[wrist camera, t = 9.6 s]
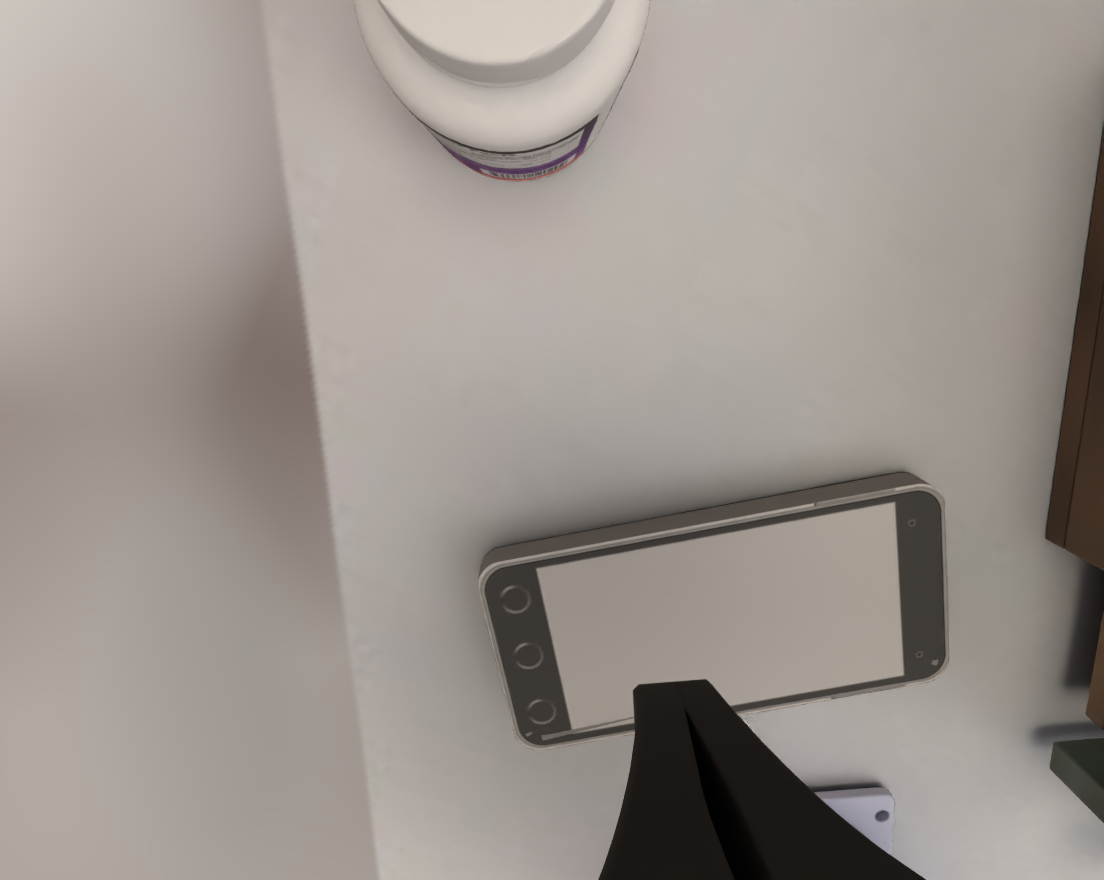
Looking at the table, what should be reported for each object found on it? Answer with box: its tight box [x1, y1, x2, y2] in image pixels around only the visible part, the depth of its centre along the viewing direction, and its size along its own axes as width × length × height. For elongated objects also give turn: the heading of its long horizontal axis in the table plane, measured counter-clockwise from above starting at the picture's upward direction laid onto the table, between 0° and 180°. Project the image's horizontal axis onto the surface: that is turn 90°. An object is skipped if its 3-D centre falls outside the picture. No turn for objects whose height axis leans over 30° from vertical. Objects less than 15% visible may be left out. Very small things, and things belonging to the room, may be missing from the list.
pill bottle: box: [353, 0, 650, 181], centre depth 14 cm, size 5×5×10 cm
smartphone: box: [478, 472, 949, 750], centre depth 22 cm, size 7×1×15 cm
